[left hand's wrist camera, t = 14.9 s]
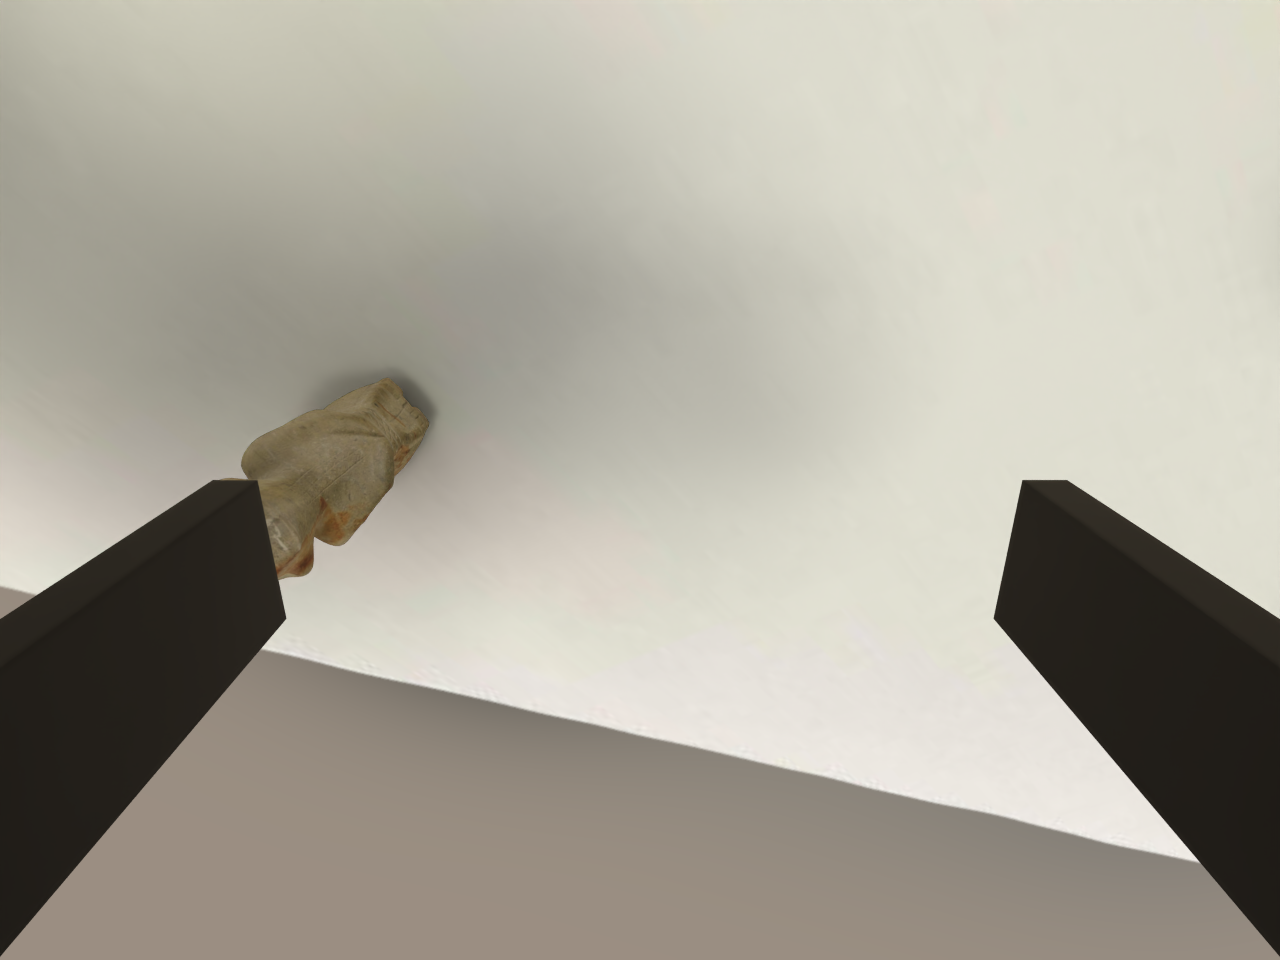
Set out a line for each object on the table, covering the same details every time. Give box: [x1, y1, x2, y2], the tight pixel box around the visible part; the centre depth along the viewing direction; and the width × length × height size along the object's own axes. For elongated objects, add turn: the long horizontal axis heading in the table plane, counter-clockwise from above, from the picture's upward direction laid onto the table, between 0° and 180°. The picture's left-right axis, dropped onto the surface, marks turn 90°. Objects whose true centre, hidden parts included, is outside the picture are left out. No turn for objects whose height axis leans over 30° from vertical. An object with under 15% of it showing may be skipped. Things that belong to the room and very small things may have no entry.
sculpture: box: [221, 378, 429, 580], centre depth 33 cm, size 6×7×15 cm
